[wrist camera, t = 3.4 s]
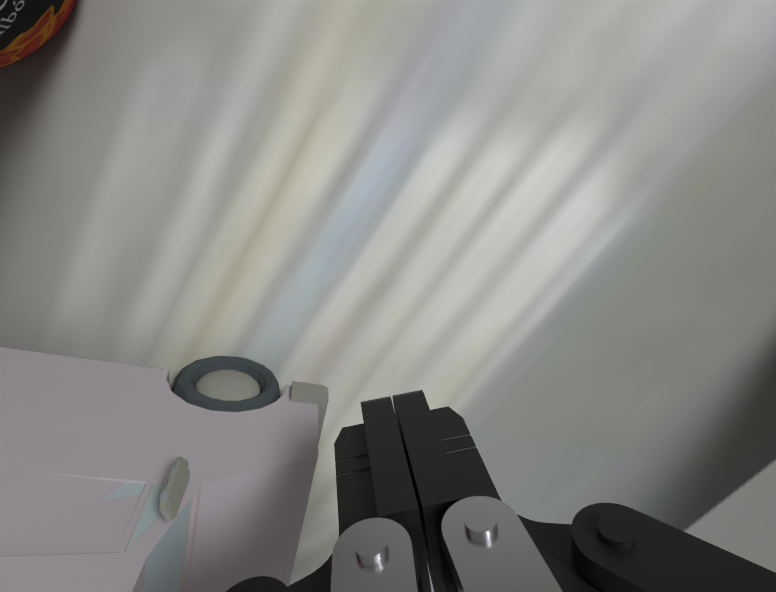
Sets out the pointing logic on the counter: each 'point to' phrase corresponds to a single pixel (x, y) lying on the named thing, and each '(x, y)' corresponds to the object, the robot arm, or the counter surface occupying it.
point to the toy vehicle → (151, 474)
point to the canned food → (29, 25)
